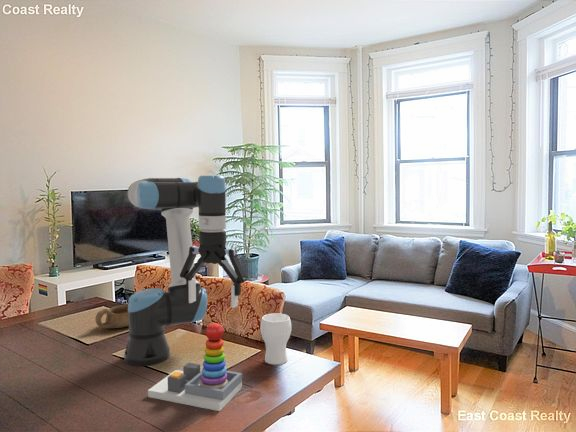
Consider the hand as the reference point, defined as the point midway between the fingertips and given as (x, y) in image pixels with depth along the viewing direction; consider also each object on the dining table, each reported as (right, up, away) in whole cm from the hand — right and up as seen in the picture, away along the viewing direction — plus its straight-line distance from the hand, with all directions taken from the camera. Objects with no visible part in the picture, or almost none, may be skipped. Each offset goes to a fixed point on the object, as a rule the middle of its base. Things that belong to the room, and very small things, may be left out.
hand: (213, 304), depth 125 cm
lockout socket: (0, -24, +2) cm, 25 cm away
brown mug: (-50, -22, +59) cm, 80 cm away
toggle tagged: (-10, -24, 0) cm, 27 cm away
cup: (+17, -25, +26) cm, 40 cm away
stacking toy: (0, -25, +2) cm, 25 cm away
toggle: (-8, -24, +7) cm, 26 cm away
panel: (-6, -26, +3) cm, 27 cm away
